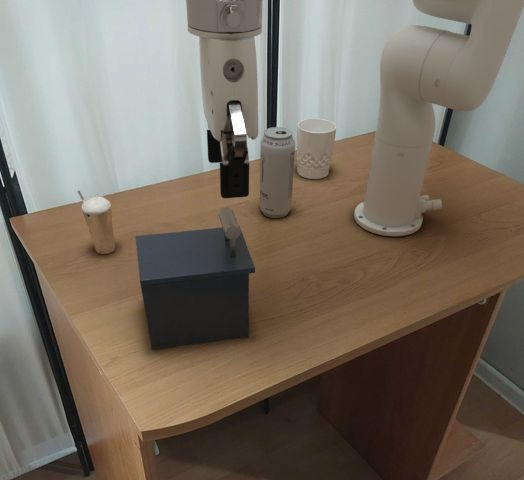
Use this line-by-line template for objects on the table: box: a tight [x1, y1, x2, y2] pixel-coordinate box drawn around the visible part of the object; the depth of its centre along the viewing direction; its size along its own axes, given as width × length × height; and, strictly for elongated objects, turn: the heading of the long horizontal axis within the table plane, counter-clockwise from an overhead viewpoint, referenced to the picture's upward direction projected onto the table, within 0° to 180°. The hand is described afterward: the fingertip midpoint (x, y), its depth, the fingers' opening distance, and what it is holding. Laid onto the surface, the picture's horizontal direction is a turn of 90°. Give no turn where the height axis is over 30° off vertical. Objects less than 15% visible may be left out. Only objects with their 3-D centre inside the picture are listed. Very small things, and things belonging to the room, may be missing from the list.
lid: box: [135, 206, 256, 287], centre depth 69 cm, size 14×11×5 cm
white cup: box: [296, 117, 338, 180], centre depth 111 cm, size 8×8×10 cm
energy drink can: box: [259, 126, 296, 219], centre depth 97 cm, size 6×6×15 cm
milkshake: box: [77, 190, 116, 255], centre depth 88 cm, size 5×5×10 cm
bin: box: [140, 273, 250, 351], centre depth 74 cm, size 14×11×11 cm
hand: (227, 178), depth 65 cm, fingers open, 9 cm apart
